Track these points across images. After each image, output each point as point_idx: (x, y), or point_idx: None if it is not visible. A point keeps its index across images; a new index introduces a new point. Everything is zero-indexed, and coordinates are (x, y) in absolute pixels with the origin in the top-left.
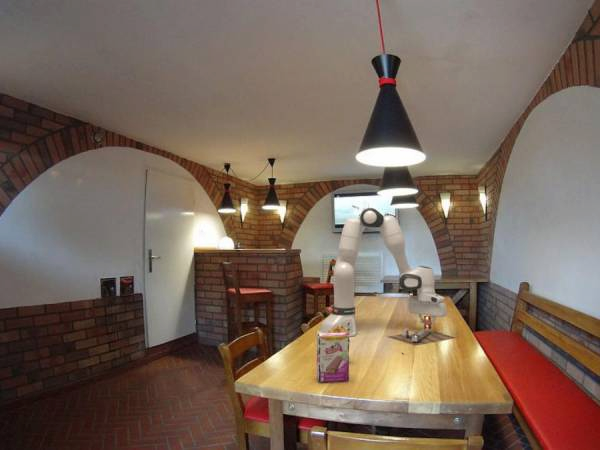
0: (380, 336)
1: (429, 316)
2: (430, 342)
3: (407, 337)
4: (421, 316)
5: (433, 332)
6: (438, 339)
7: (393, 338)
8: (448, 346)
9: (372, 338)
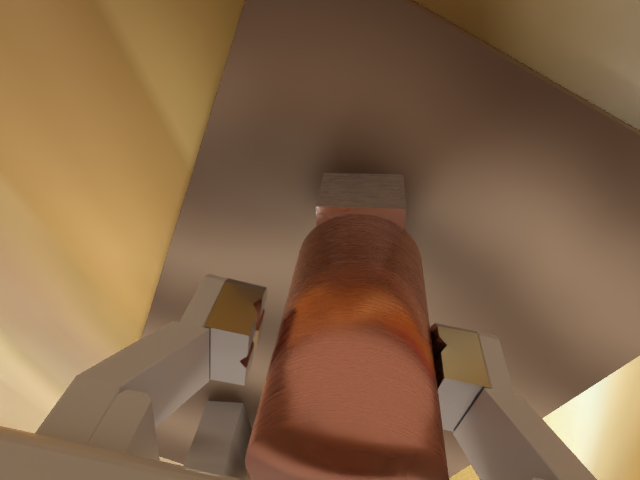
0: (20, 368)
1: (396, 471)
2: (458, 466)
3: (250, 434)
4: (146, 378)
5: (426, 82)
6: (525, 385)
7: (176, 458)
8: (608, 419)
9: (35, 421)
